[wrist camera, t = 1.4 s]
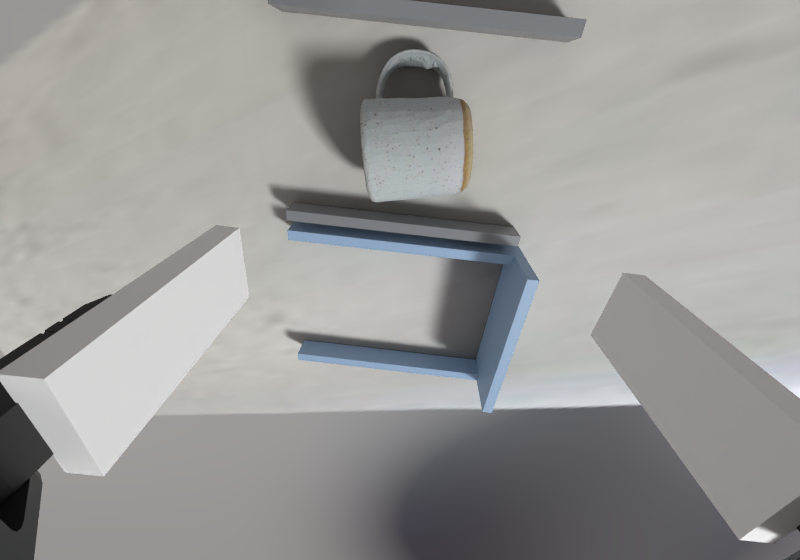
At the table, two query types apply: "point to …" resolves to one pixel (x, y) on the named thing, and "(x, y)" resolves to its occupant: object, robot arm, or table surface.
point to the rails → (396, 6)
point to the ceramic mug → (415, 138)
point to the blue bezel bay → (486, 369)
